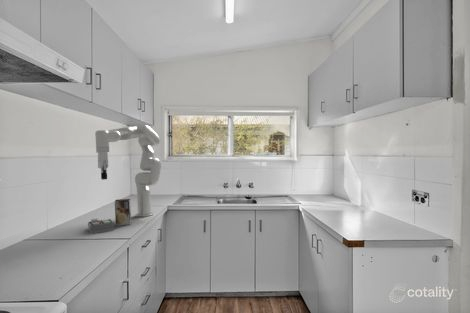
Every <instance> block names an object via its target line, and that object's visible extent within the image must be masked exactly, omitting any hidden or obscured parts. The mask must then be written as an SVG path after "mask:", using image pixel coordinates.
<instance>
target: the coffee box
mask: <svg viewBox="0 0 470 313" xmlns="http://www.w3.org/2000/svg"><path fill="white" fill-rule="evenodd" d="M131 211H132V210H131V198H124V199H123V198H122V199H115V200H114V212H115V217H114V218H115V226H116V227H118V226H119V227H120V226H129V225H130V226H131V224H132V213H131Z"/></svg>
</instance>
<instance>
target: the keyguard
mask: <svg viewBox="0 0 470 313" xmlns="http://www.w3.org/2000/svg"><path fill="white" fill-rule="evenodd" d="M107 219H108V220H109V221H110V223H106V224H103V222H102V220H103V219H101V220H99V219H98V222H99V223H100V224H99V225H92V223H91V221H87V230H88V231H89V233H92V234H97V233H98V234H99V233H103V232H104V233H105V232H112V231H114V230H115V222H114V221H113V220H112V219H111V218H107Z"/></svg>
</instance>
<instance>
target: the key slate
mask: <svg viewBox="0 0 470 313" xmlns="http://www.w3.org/2000/svg"><path fill="white" fill-rule="evenodd" d="M98 221H99V218H98V217H96V218H90V222H91V223H95V222H98Z"/></svg>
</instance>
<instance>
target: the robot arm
mask: <svg viewBox="0 0 470 313" xmlns="http://www.w3.org/2000/svg"><path fill="white" fill-rule="evenodd" d="M137 138H138V140H137V141H138V144H139V146H140V147H141V151H142V154H141V159H140V164H139V169H140V170H141V171H143V172H138V173H136V175H135V177H134V182H135V188H136V202H137V203H136V205H137V207H136V209H137V212H136V213H135V217H140V218H141V217H143V218H144V217H150V216H153V215H154V212H153V211H152V205H151V204H152V202H151V200H152V199H151V189H150V187H149V186H156V185H157V184H158V182H159V179H160V174H161V169H162V162H161V160H160V159H159V158H154V156H155V152H154V149H153V148H152V147H155V146H158V145H159V144H160V142H161V139H160V137H159V135H158V133H156V131H154V129H153V128H151V126H149V125H147V124H142V125H141V124H139V125H131V126H127V127H119V128H115V129H109V130H108V129H107V130H103V129H102V130H101V129H100V130H99V129H98V130H96V131H95V151H96V152H95V153H96V154H97V168H98V169H100V173H101V174H100V179H101V180H107V179H108V170H107V169H108V168H109V155H108V154H109V153H110V143H115V142H116V143H117V142H119V141H127V140H128V141H129V140H131V139H132V140H133V139H137Z"/></svg>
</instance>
